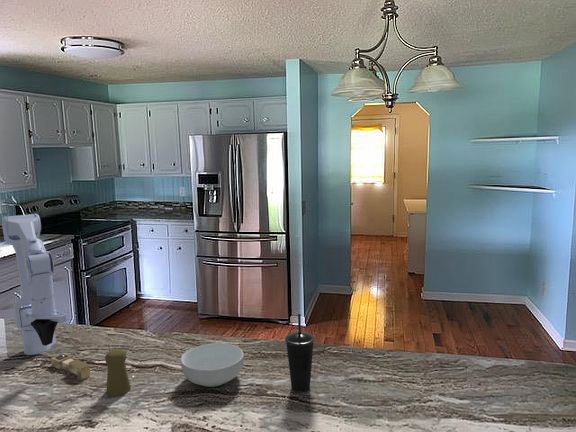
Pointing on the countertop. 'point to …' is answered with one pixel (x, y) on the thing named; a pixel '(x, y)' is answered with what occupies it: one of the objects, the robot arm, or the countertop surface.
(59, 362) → the link
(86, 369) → the keeper
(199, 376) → the cereal bowl
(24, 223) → the robot arm
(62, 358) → the cylinder
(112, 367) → the pepper mill
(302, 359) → the drinking cup
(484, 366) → the countertop surface
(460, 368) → the countertop surface
